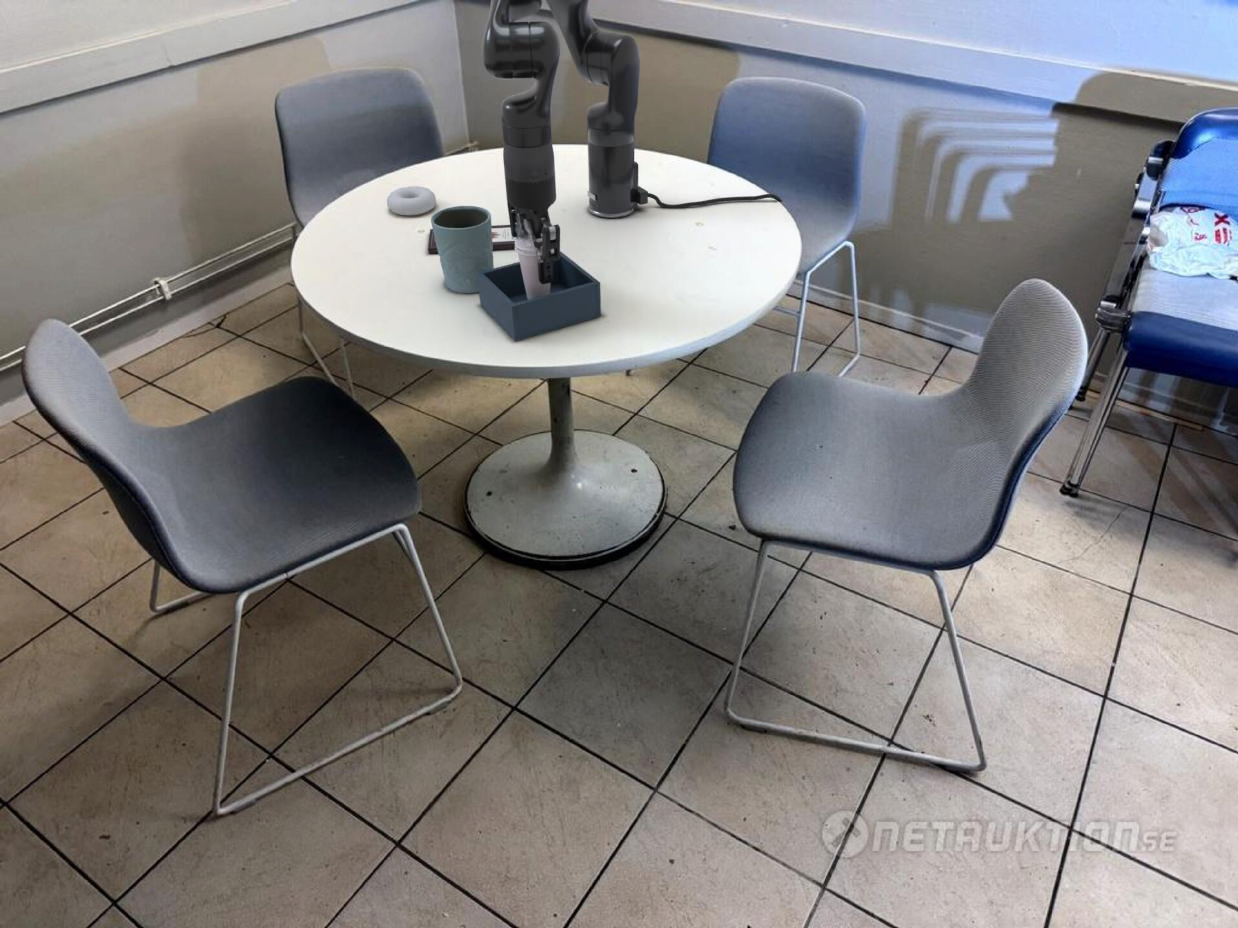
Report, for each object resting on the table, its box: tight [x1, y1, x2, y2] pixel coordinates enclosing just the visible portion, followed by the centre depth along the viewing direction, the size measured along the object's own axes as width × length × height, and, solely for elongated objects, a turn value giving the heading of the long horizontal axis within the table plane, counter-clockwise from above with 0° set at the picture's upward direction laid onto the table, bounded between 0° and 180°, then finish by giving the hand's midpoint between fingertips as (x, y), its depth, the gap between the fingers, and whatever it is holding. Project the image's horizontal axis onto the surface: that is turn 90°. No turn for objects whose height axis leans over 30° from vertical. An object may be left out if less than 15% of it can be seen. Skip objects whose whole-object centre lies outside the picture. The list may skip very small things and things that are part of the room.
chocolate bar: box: [427, 224, 516, 254], centre depth 160 cm, size 9×1×18 cm
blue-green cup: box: [430, 205, 495, 294], centre depth 143 cm, size 10×10×12 cm
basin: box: [477, 251, 602, 342], centre depth 137 cm, size 16×14×6 cm
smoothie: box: [514, 235, 554, 300], centre depth 133 cm, size 6×6×14 cm
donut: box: [386, 185, 437, 216], centre depth 172 cm, size 10×4×10 cm
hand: (536, 274), depth 135 cm, fingers closed on smoothie, 6 cm apart
